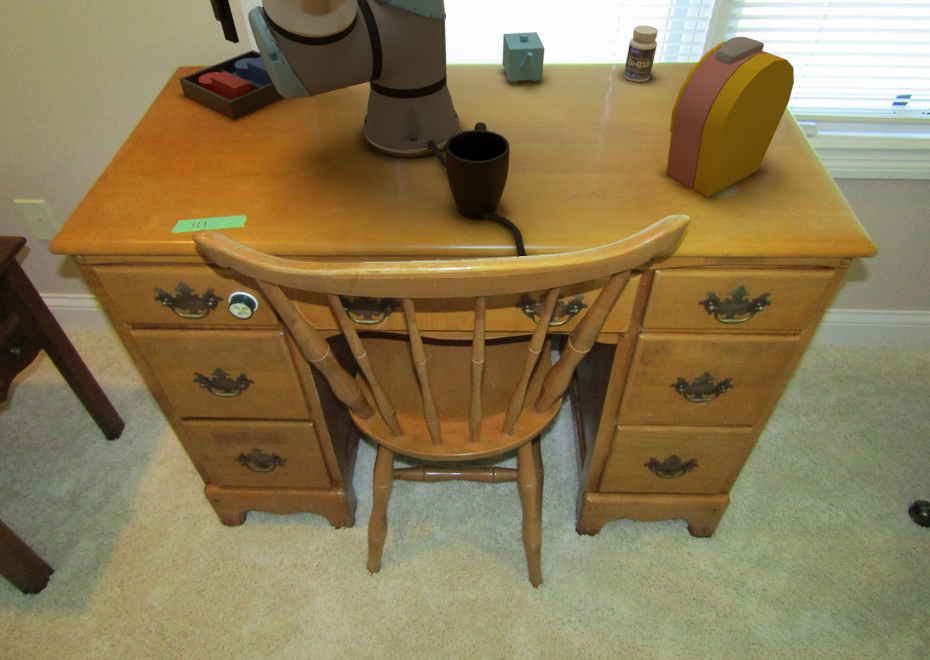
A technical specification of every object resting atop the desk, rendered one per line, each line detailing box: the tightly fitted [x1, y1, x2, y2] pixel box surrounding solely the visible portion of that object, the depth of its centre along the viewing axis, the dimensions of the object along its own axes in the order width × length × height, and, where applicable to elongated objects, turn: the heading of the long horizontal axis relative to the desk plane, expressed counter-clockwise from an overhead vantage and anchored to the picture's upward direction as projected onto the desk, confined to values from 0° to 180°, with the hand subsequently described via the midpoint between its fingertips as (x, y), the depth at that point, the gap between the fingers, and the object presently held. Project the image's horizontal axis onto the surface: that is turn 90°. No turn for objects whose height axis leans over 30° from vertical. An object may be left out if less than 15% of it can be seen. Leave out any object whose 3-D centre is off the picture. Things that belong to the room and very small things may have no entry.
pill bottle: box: [623, 24, 658, 83], centre depth 112 cm, size 5×5×8 cm
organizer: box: [178, 49, 285, 120], centre depth 112 cm, size 15×16×3 cm
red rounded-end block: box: [199, 72, 252, 101], centre depth 109 cm, size 12×5×3 cm, turn 51°
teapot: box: [502, 31, 545, 84], centre depth 113 cm, size 12×6×8 cm, turn 6°
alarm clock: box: [665, 36, 795, 198], centre depth 86 cm, size 15×8×18 cm, turn 127°
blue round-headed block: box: [235, 57, 272, 86], centre depth 114 cm, size 12×5×3 cm, turn 51°
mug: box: [444, 121, 511, 221], centre depth 85 cm, size 8×12×10 cm
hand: (265, 29), depth 107 cm, fingers open, 13 cm apart
